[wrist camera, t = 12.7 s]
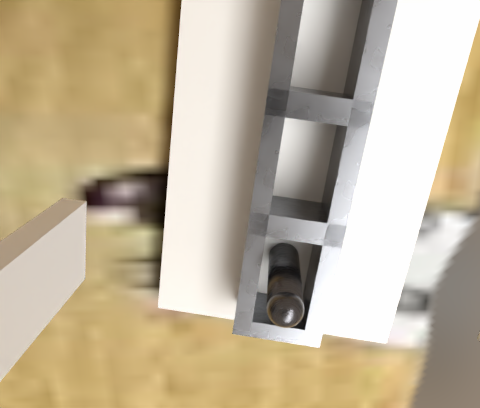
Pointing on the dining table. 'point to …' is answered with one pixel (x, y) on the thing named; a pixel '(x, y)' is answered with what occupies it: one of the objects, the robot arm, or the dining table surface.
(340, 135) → the grey compartment rack
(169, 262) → the white board
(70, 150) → the dining table surface
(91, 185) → the dining table surface
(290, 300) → the post
